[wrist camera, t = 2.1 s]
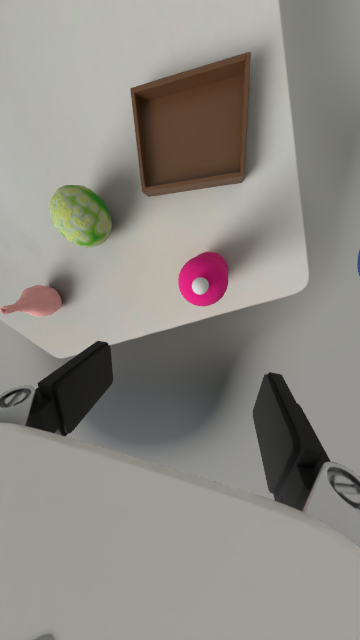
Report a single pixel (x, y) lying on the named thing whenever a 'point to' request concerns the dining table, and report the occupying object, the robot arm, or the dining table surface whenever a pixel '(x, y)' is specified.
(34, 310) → the pink bulb vase
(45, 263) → the dining table surface
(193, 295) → the pepper mill
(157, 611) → the robot arm
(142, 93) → the tray
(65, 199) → the decorative ball
